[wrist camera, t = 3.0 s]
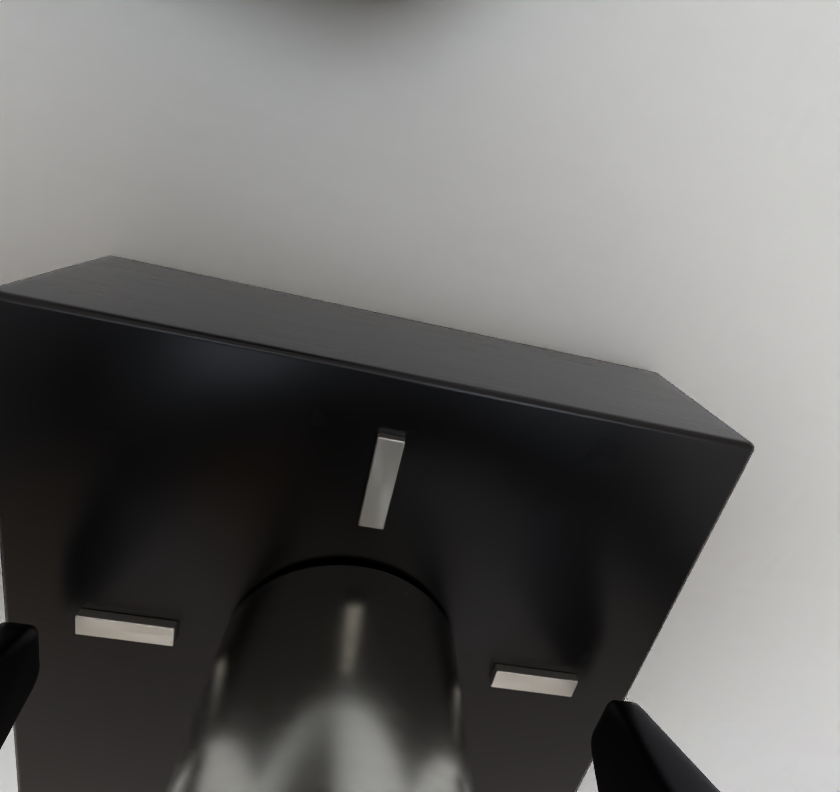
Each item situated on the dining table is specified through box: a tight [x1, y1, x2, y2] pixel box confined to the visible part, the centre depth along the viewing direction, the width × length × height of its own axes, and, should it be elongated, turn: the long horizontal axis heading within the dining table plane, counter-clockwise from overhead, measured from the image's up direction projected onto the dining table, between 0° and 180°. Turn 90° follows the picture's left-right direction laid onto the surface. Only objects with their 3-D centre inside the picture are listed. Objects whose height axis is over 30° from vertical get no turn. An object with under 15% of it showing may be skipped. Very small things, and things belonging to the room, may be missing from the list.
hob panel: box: [0, 256, 754, 792], centre depth 10 cm, size 10×10×3 cm
